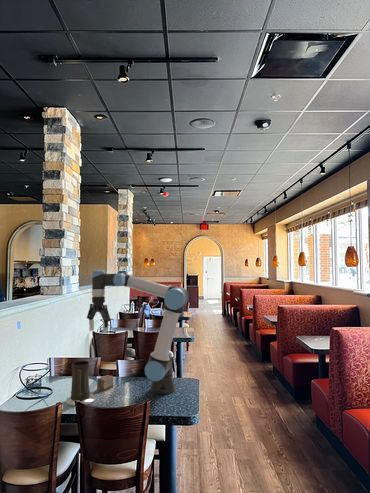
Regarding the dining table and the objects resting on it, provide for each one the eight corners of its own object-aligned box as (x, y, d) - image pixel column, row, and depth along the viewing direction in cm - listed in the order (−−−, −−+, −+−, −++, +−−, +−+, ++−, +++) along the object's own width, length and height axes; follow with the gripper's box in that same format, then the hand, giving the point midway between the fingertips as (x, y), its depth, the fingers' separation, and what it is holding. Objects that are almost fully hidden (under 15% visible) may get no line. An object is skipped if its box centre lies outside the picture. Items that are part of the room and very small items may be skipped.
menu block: (113, 387, 238) (113, 376, 238) (103, 391, 230) (103, 379, 230) (107, 386, 240) (107, 375, 241) (97, 390, 233) (97, 378, 233)
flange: (101, 400, 215) (101, 398, 215) (76, 408, 203) (76, 406, 203) (85, 394, 226) (85, 392, 226) (60, 401, 213) (60, 399, 214)
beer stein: (69, 395, 220) (70, 360, 220) (88, 392, 224) (89, 359, 224) (71, 406, 206) (72, 369, 206) (91, 403, 210) (92, 367, 209)
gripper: (116, 296, 223) (116, 333, 222) (91, 294, 239) (91, 328, 238) (106, 297, 217) (106, 335, 216) (81, 295, 234) (81, 330, 233)
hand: (98, 331), depth 227 cm, fingers open, 13 cm apart
